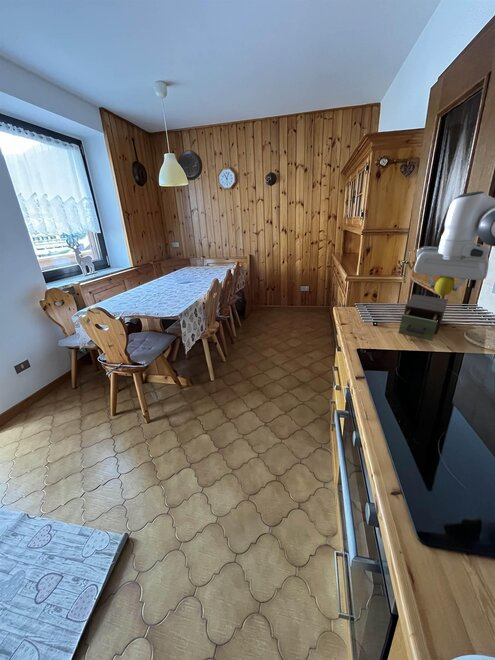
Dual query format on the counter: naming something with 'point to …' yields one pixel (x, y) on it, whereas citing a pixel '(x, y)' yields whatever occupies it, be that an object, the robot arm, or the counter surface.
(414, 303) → the cabinet
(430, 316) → the drawer
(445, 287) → the lemon
